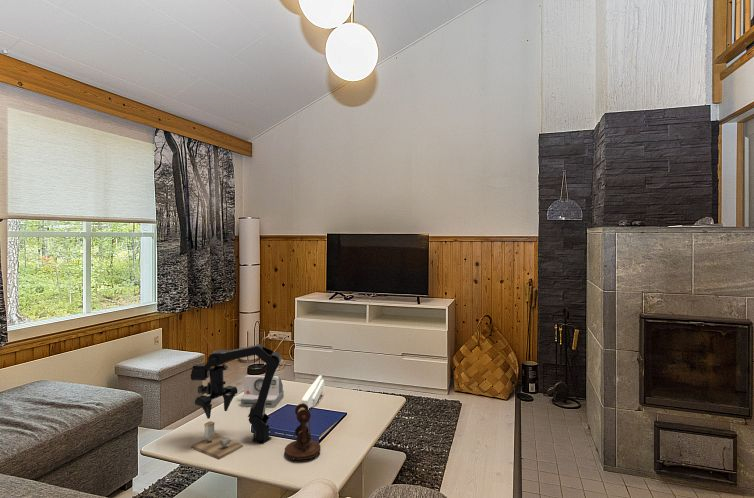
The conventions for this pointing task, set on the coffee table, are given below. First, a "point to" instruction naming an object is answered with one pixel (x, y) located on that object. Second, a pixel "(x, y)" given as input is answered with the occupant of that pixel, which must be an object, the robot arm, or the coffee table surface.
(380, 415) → the coffee table surface
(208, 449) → the hole plate
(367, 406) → the coffee table surface
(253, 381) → the instant camera
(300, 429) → the brown wooden tall piece
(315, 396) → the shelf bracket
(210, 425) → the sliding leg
